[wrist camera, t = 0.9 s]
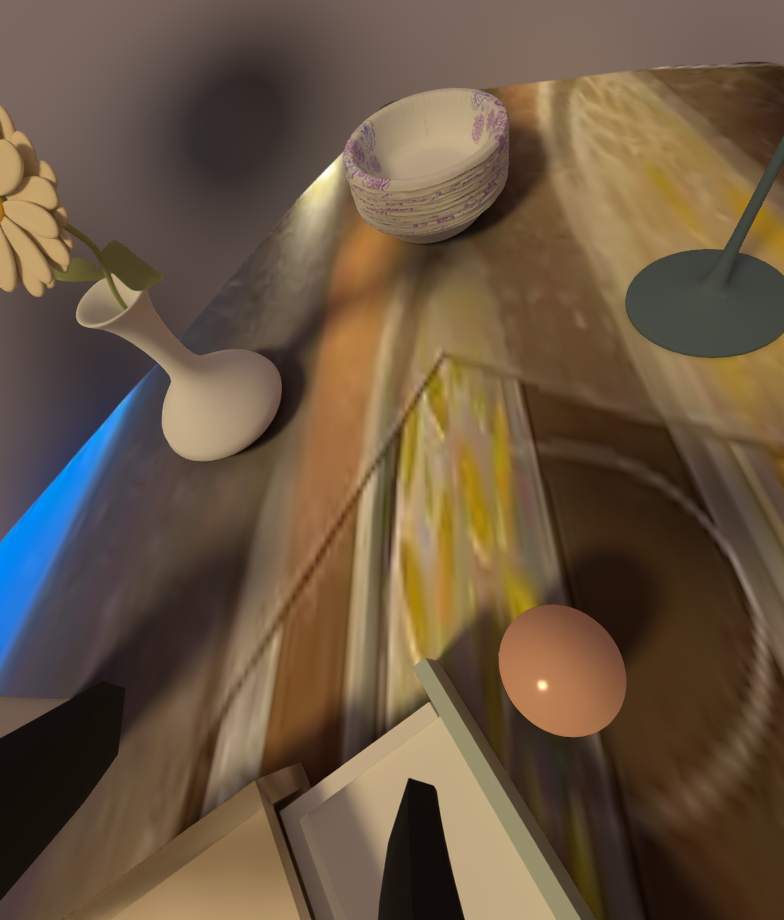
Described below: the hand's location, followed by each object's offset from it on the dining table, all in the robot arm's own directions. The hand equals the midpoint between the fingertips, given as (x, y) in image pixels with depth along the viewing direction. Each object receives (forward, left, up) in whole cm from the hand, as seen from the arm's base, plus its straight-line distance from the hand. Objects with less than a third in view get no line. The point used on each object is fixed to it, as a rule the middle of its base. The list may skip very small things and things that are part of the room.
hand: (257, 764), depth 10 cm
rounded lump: (-2, -8, -13) cm, 16 cm away
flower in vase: (+28, +1, -17) cm, 32 cm away
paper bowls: (+37, -27, -17) cm, 49 cm away
